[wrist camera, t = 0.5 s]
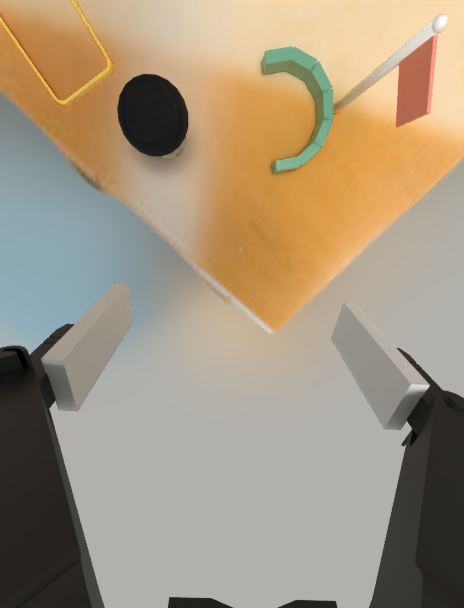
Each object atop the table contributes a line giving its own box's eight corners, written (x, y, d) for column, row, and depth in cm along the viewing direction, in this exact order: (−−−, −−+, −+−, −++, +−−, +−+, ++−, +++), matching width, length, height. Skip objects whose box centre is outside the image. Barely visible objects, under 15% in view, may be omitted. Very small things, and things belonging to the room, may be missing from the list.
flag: (330, 106, 33) (438, 11, 17) (337, 104, 33) (452, 8, 17) (331, 155, 35) (429, 111, 20) (338, 154, 35) (442, 108, 20)
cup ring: (261, 62, 31) (265, 50, 29) (322, 52, 31) (331, 39, 29) (272, 173, 36) (276, 170, 33) (326, 163, 36) (334, 160, 33)
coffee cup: (198, 165, 35) (193, 148, 25) (147, 172, 34) (123, 158, 25) (188, 104, 32) (179, 60, 23) (133, 111, 32) (101, 70, 23)
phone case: (6, -115, 25) (-5, -132, 24) (118, 72, 31) (114, 66, 30) (-54, -60, 26) (-67, -74, 25) (66, 111, 32) (60, 107, 31)
